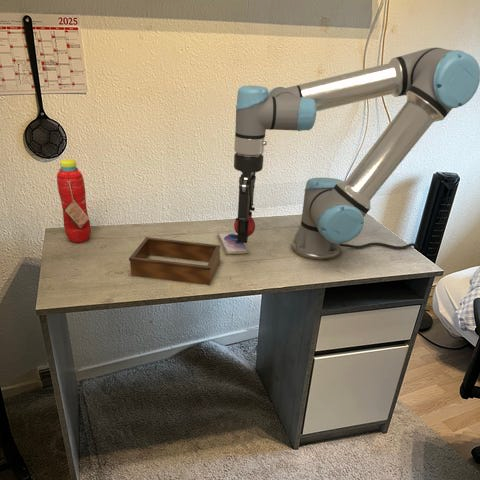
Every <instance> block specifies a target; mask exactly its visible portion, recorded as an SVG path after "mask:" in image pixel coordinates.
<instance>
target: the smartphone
mask: <svg viewBox="0 0 480 480" xmlns="http://www.w3.org/2000/svg"><path fill="white" fill-rule="evenodd" d="M217 236H218V239H219V241H220V243H221V245H222V247H223V249H224V251H225V253H226V254H227V255H239V254H240V255H241V254H248V253H249V250H248V248H247V246H246V244H245V243H239V242H237V238H238V234H237V233H236V232H219V233H217Z"/></svg>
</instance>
